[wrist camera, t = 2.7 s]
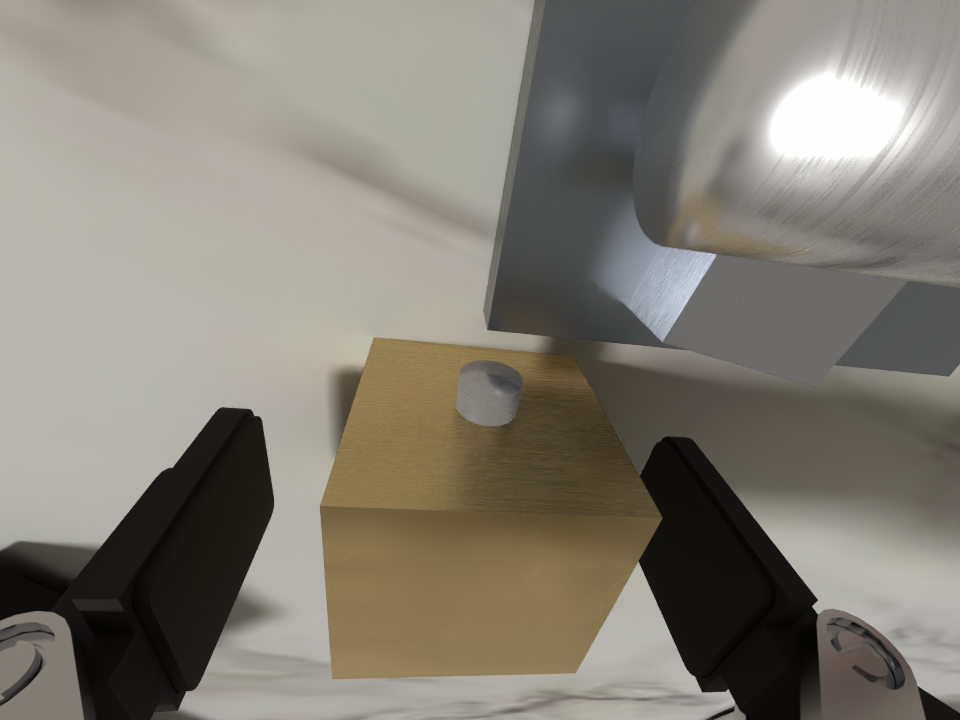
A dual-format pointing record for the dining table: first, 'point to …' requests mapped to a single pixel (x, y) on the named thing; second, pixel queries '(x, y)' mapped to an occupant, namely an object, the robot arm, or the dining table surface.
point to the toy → (23, 595)
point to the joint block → (476, 515)
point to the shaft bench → (738, 182)
